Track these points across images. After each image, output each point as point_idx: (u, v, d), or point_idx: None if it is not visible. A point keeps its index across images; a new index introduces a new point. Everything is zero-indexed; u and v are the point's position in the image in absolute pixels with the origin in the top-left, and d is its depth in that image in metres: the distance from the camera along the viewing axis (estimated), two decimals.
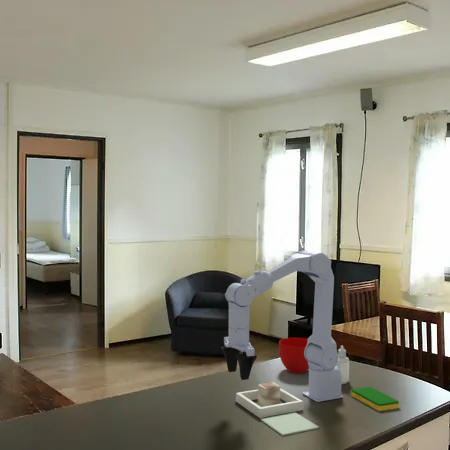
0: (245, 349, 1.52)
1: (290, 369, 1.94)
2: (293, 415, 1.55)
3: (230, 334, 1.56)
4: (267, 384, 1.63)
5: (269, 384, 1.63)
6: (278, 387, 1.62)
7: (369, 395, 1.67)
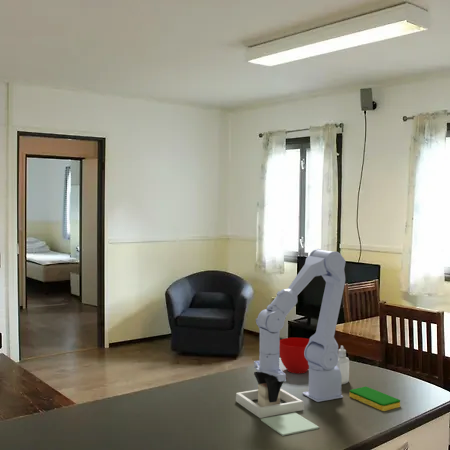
0: (277, 374, 1.57)
1: (290, 369, 1.94)
2: (293, 415, 1.55)
3: (261, 359, 1.61)
4: None
5: None
6: None
7: (370, 395, 1.67)
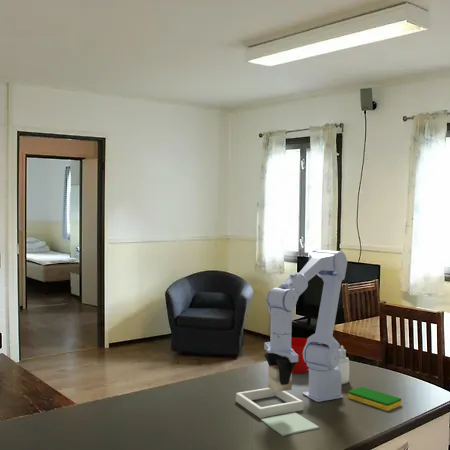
0: (289, 355, 1.49)
1: None
2: (293, 415, 1.55)
3: (272, 340, 1.53)
4: None
5: None
6: None
7: (370, 396, 1.66)
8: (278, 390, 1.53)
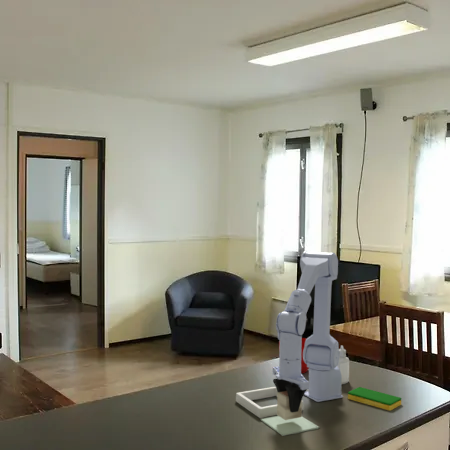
0: (299, 382, 1.43)
1: None
2: None
3: (281, 365, 1.48)
4: None
5: None
6: None
7: (371, 396, 1.66)
8: (288, 418, 1.47)
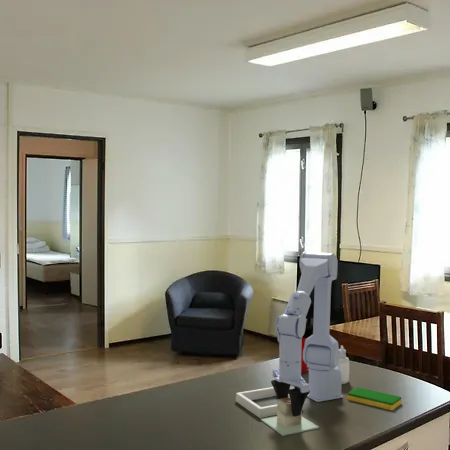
0: (299, 385, 1.43)
1: None
2: None
3: (281, 368, 1.48)
4: (287, 399, 1.50)
5: (289, 399, 1.50)
6: None
7: (371, 396, 1.66)
8: (287, 425, 1.47)
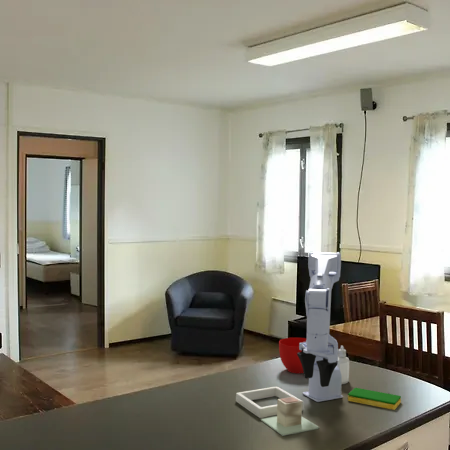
0: (327, 355, 1.49)
1: (290, 369, 1.94)
2: None
3: (309, 340, 1.54)
4: (287, 399, 1.50)
5: (289, 399, 1.50)
6: (299, 402, 1.49)
7: (372, 396, 1.66)
8: (287, 425, 1.47)
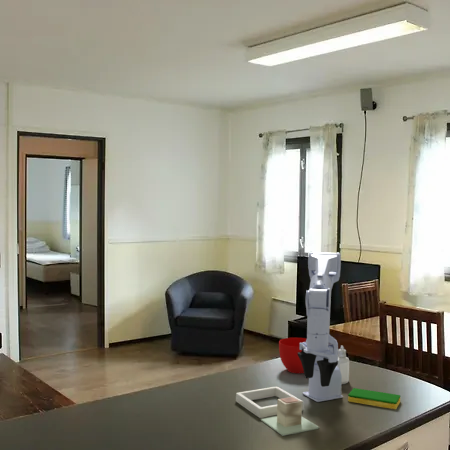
0: (327, 355, 1.49)
1: (290, 369, 1.94)
2: None
3: (309, 340, 1.54)
4: (287, 399, 1.50)
5: (289, 399, 1.50)
6: (299, 402, 1.49)
7: (373, 396, 1.66)
8: (287, 425, 1.47)
